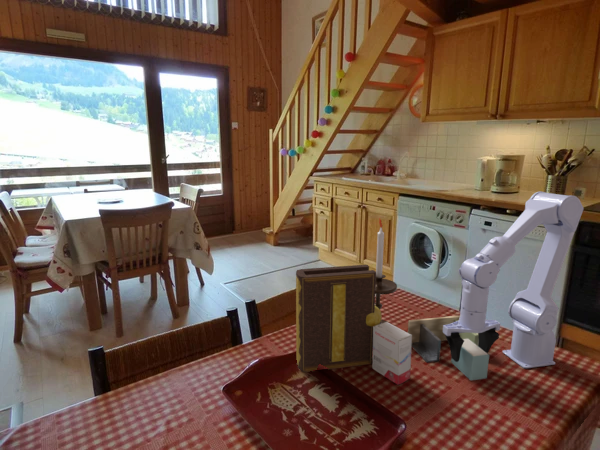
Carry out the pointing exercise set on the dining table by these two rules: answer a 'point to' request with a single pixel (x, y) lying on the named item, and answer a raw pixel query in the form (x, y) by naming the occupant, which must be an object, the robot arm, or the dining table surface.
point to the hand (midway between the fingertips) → (468, 357)
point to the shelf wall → (430, 326)
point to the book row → (470, 336)
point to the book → (335, 316)
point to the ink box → (392, 352)
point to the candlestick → (381, 284)
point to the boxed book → (472, 361)
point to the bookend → (427, 345)
